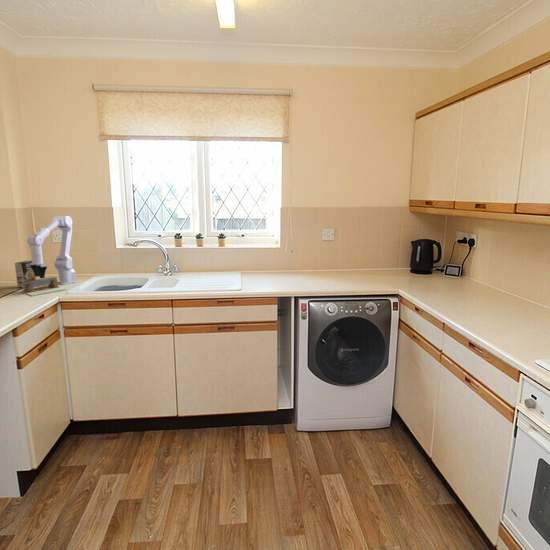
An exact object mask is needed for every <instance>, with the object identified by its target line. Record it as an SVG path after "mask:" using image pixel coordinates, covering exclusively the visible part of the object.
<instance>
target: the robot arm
mask: <svg viewBox="0 0 550 550" xmlns="http://www.w3.org/2000/svg"><path fill="white" fill-rule="evenodd" d="M73 223H74V222H73V219H72V218H71V216H70V215H64V216H63V215H59V216H58V215H55V216H54V217H53V218H52V219H51V221H50V222H49V223H48V224H47V225H46V226H45V227H40V228H39V229H38V230H37V231H36V232H35V233H33V235H30V236H28V238H27V241H26V243H27V245H28V247H29V248H30V253H31V254H30V256H31V261H32V263H30V264H31V265H33V266H30V267H31V268H32V270H33V272H34V275H35V277H36V278H37V277H39V279H43V278H46V277H45V275H46V270H47V268H48V266H45V262H44V258H43V257H44V256H43V249H42V245H43V243H44V241H45V240H46V238H47V237H48V236H50V233H51V232H52V231H53V230H54V229H56V227H57V228H59V229H60V230H61V232H62V235H61V240H60V241H61V243H60V252H59V255H57V256H56V259H55V261H54V267H55V268H56V270H57V272H58V280H59V281H57V283H58V284H60V285H66V284H73V283H77V278H76V275H77V274H76V270H75V269H74V268H73V266H74V264H73V258H72V257H71V255H70V251H71V242H72V236H73V235H72V234H73Z"/></svg>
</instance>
